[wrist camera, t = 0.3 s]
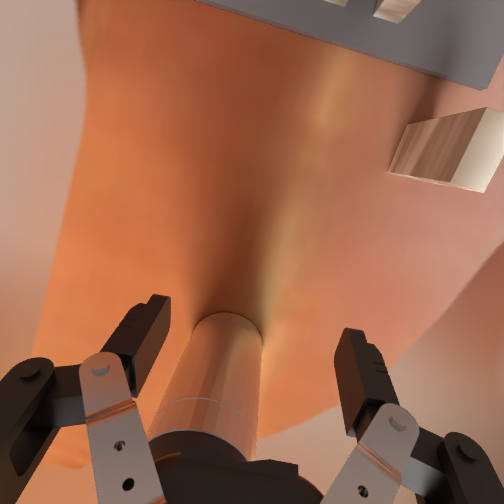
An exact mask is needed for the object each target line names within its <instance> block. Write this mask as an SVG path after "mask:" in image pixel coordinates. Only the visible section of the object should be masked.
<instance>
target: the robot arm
mask: <svg viewBox="0 0 504 504" xmlns="http://www.w3.org/2000/svg"><path fill="white" fill-rule="evenodd" d="M170 318H171V298H170V297H169V296H163V295H157V294H153V295H152V296H151V298H150V299H149V301H148V303H147V304H143V303H139V304H137V305H136V306H134V307H133V308H131V309H130V310H129V311H128V313H127V314H126V316H125V317H124V319H123V320H122V321H121V323H120V324H119V326H118V327H117V328H116V330H115V331H114V332H113V334H112V335H111V337H110V338H109V339H108V341H107V342H106V344H105V345H104V346H103V348H102V349H101V351H100V352H99V353H96V354H94V355H92V356H90V357H88V358H87V359H86V360H84V362H83V363H82V364H78V365H72V366H61V367H54V364H53V362H52V361H51V360H49V359H47V358H42V357H37V358H31V359H27V360H25V361H23V362H21V363H19V364H17V365H16V366H14V367H13V368H12V369H11V370H10V371H9V372H8V373H7V374H6V375H5V376H4V378H3V379H2V380H1V381H0V504H15V503H16V502H17V500H18V498H19V497H20V495H21V493H22V491H23V490H24V488H25V487H26V485H27V483H28V482H29V480H30V478H31V477H32V475H33V473H34V472H35V470H36V468H37V467H38V465H39V463H40V462H41V460H42V458H43V456H44V455H45V453H46V451H47V450H48V448H49V446H50V445H51V443H52V441H53V440H54V438H55V436H56V435H57V433H58V431H59V430H60V428H61V427H66V426H73V425H80V424H86V425H87V432H88V439H89V445H90V452H91V458H92V465H93V472H94V478H95V485H96V491H97V498H98V504H392V503H393V501H394V498H395V496H396V494H397V492H398V489H399V487H400V485H402V486H404V487H406V488H408V489H410V490H412V491H413V492H415V495H416V499H417V503H418V504H504V488H503V486H502V484H501V482H500V480H499V478H498V476H497V474H496V472H495V470H494V468H493V466H492V464H491V462H490V460H489V458H488V456H487V454H486V453H485V452H484V450H483V449H482V448H481V447H480V446H479V445H478V444H477V443H476V442H475V441H474V440H472V439H471V438H469V437H468V436H466V435H464V434H461V433H458V432H450V433H448V434H447V435H446V436H445V437H444V438H442V437H440V436H438V435H436V434H434V433H431V432H429V431H427V430H425V429H423V428H421V427H419V426H418V423H417V421H416V420H415V418H414V417H413V416H412V415H411V414H410V413H409V412H408V411H407V410H406V409H404V408H403V407H401V406H400V404H399V401H398V399H397V396H396V393H395V391H394V387H393V385H392V382H391V379H390V376H389V375H388V371H387V368H386V366H385V363H384V360H383V357H382V354H381V353H380V352H379V350H378V349H377V348H376V347H375V345H374V344H370V343H367V340H366V337H365V334H364V332H363V331H362V330H357V329H351V328H345V329H344V331H343V333H342V336H341V338H340V341H339V343H338V346H337V349H336V351H335V356H334V367H335V372H336V378H337V384H338V390H339V395H340V401H341V407H342V412H343V418H344V424H345V429H346V434H347V436H351V437H356V438H357V445H356V446H355V448H354V450H353V451H352V453H351V455H350V456H349V458H348V459H347V461H346V462H345V464H344V466H343V467H342V469H341V471H340V472H339V474H338V475H337V477H336V478H335V480H334V482H333V483H332V485H331V486H330V488H329V490H328V491H327V493H326V495H325V496H323V494H322V493H321V492H320V491H319V490H318V489H317V488H316V487H315V486H314V485H313V484H311V483H310V482H309V481H308V480H306V479H305V478H303V477H301V476H299V475H298V465H297V464H292V463H286V462H281V461H276V460H270V459H269V460H259V461H255V458H256V438H257V422H258V405H259V388H260V372H261V357H262V340H261V336H260V334H259V331H258V330H257V328H256V327H255V326H254V325H253V324H252V323H251V322H250V321H249V320H247V319H246V318H244V317H243V316H240V315H238V314H234V313H229V312H220V313H215V314H212V315H209V316H207V317H205V318H204V319H202V320H201V321H200V322H199V323H198V324H197V325H196V327H195V329H194V331H193V333H192V335H191V338H190V340H189V342H188V344H187V346H186V348H185V350H184V353H183V355H182V357H181V359H180V361H179V364H178V366H177V368H176V370H175V373H174V375H173V377H172V379H171V381H170V384H169V386H168V388H167V390H166V392H165V395H164V397H163V399H162V401H161V404H160V406H159V408H158V410H157V412H156V415H155V417H154V419H153V422H152V424H151V426H150V428H149V431H148V433H147V435H146V434H145V431H144V428H143V424H142V421H141V418H140V414H139V411H138V408H137V405H136V402H135V401H133V400H132V397H134V398H137V397H138V395H139V393H140V391H141V389H142V387H143V385H144V383H145V381H146V378H147V376H148V374H149V372H150V370H151V368H152V366H153V364H154V362H155V360H156V358H157V356H158V354H159V352H160V350H161V347H162V345H163V343H164V341H165V339H166V337H167V335H168V332H169V328H170Z"/></svg>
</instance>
